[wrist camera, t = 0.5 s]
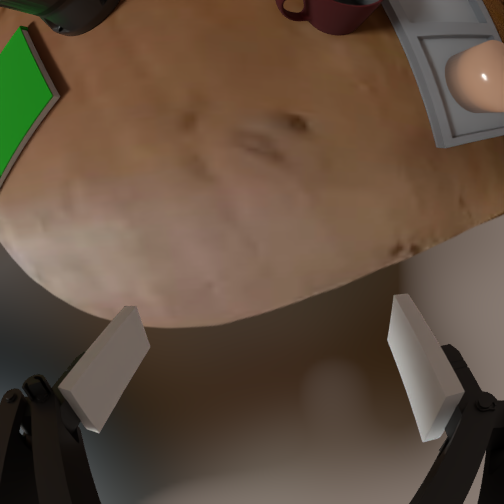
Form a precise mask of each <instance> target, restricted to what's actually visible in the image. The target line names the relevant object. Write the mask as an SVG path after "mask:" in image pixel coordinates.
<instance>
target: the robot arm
mask: <svg viewBox="0 0 504 504" xmlns="http://www.w3.org/2000/svg"><path fill="white" fill-rule="evenodd" d="M119 1H120V0H0V7H4V8H9V9H13V10H17V11H21V12H25V13H29V14H33V15H36V16H39V17H40V18H41V19H42V20H43V21H44V22H45V23H46V24H47V25H48V26H49V27H50V28H51V29H52V30H53V31H55V32H56V33H59V34H62V35H65V36H77V35H80V34H83V33H85V32H87V31H89V30H91V29H92V28H94V27H95V26H97V25H98V24H99V23H100V22H102V21H103V20H104V19H105V18H106V17H107V16H108V15H109V14H110V13H111V12H112V10H113V9H114V8H115V7H116V5H117V4H118V2H119ZM387 341H388V343H389V346H390V348H391V351H392V353H393V356H394V359H395V361H396V364H397V366H398V369H399V372H400V375H401V377H402V380H403V383H404V386H405V388H406V391H407V394H408V397H409V400H410V403H411V406H412V409H413V413H414V415H415V419H416V422H417V425H418V428H419V432H420V435H421V439H422V442H426V441H430V440H433V439H437V438H440V437H441V435H442V433H443V432H444V430H445V431H446V434H447V436H448V437H447V439H446V440H445V442H444V444H443V445H442V447H441V448H440V449H439V451H440V452H439V454H438V456H437V458H436V460H435V462H434V464H433V465H432V467H431V469H430V471H429V473H428V474H427V476H426V478H425V480H424V481H423V483H422V484H421V486H420V488H419V489H418V491H417V493H416V494H415V496H414V497H413V499H412V500H411V502H410V503H409V504H463V502H464V500H465V498H466V496H467V494H468V492H469V490H470V488H471V486H472V483H473V481H474V479H475V476H476V474H477V472H478V469H479V467H480V464H481V461H482V459H483V456H484V453H485V451H486V457H485V464H484V471H483V478H482V484H481V489H480V494H479V499H478V504H504V401H498V400H497V399H496V398H495V397H494V396H493V395H492V394H490V393H488V392H482V390H481V389H480V387H479V385H478V383H477V381H476V380H475V378H474V376H473V374H472V373H471V371H470V369H469V368H468V367H467V364H466V362H465V361H464V360H463V357H462V356H461V354H460V352H459V351H458V350H457V349H456V348H454V347H453V346H452V345H450V344H448V345H443V346H440V345H439V343H438V341H437V340H436V338H435V336H434V334H433V333H432V331H431V330H430V328H429V326H428V325H427V323H426V321H425V320H424V318H423V316H422V315H421V313H420V312H419V310H418V309H417V307H416V305H415V304H414V302H413V301H412V299H411V297H410V296H409V294H399V295H394V299H393V306H392V314H391V321H390V327H389V333H388V340H387ZM149 348H150V344H149V341H148V338H147V336H146V333H145V330H144V327H143V324H142V321H141V318H140V315H139V312H138V309H137V306H124V308H123V309H122V310H121V311H120V312H119V313H118V315H117V316H116V317H115V318H114V319H113V320H112V321H111V323H110V324H109V325H108V326H107V327H106V328H105V330H104V331H103V332H102V333H101V334H100V336H99V337H98V338H97V339H96V340H95V342H94V343H93V344H92V345H91V346H90V348H89V349H88V350H87V352H83V353H82V354H81V355H79V356H78V357H76V359H75V360H74V361H73V362H72V363H71V366H69V367H68V368H67V371H65V372H64V373H63V375H62V376H61V377H60V378H59V379H58V381H57V382H56V383H55V384H54V386H53V387H52V388H51V386H50V385H49V383H48V382H47V380H46V378H45V377H44V376H43V375H40V374H38V375H33V376H31V377H29V378H28V379H27V380H26V381H25V382H24V383H23V386H22V388H23V390H24V391H25V393H26V394H27V396H28V397H25V396H24V395H23V394H22V392H21V391H20V390H19V389H11V390H9V391H7V392H6V394H5V395H4V396H3V398H2V400H1V403H0V504H101V502H100V499H99V496H98V493H97V490H96V487H95V484H94V480H93V477H92V474H91V471H90V467H89V463H88V459H87V455H86V451H85V447H84V443H83V439H82V434H81V430H80V428H79V427H78V425H79V423H80V421H81V422H82V423H83V425H84V426H85V427H86V429H88V430H91V431H94V432H97V433H99V432H100V431H101V429H102V427H103V426H104V424H105V422H106V420H107V419H108V417H109V415H110V413H111V412H112V410H113V408H114V407H115V405H116V403H117V401H118V400H119V398H120V396H121V394H122V393H123V391H124V389H125V388H126V386H127V384H128V383H129V381H130V379H131V378H132V376H133V374H134V373H135V371H136V369H137V368H138V366H139V364H140V362H141V361H142V359H143V358H144V356H145V355H146V353H147V351H148V349H149ZM20 427H21V428H22V430H23V431H24V433H23V435H21V434H20V432H19V430H20Z"/></svg>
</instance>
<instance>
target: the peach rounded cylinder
mask: <svg viewBox="0 0 504 504" xmlns="http://www.w3.org/2000/svg"><path fill="white" fill-rule="evenodd" d="M445 79H446V83H447V86H448V89H449V91H450V93H451V95H452V97H453V98H454V99H455V101H456V102H457V103H458V104H459V105H460V106H461V107H462V108H464V109H465V110H467V111H469V112H472V113H494V112H504V43H502V42H500V41H497V40H489V41H486V42H484V43H481V44H479V45H476V46H474V47H471V48H469V49H466V50H464V51H462V52H459V53H457V54H455V55H453V56H451V57H450V58H449V59H448V61H447V63H446V66H445Z"/></svg>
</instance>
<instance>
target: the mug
mask: <svg viewBox="0 0 504 504" xmlns="http://www.w3.org/2000/svg"><path fill="white" fill-rule="evenodd" d="M284 1H285V0H276V4H277V6H278V8H279V10H280V11H281V13H282V14H283V15H284V16H285V17H286V18H288V19H290V20H293V21H309V22H310V23H311V24H312V25H313V26H314V27H315V28H317V29H318V30H320V31H322V32H324V33H327V34H331V35H345V34H349V33H351V32H353V31H354V30H355V29H356V28H357V27H359V26H360V25H361V24H362V23H363V22H364V21H365V20H366V19H367V18H368V17H369V16H370V14H371V13H372V12H373V11H374V10H375V9H376V8H377V7H378V6H379V5H380V4H381V3H382V1H383V0H303V2H304V8H303V10H302V11H301V12H299V13H294V12H290V11H287V10H285V9H284V7H283V3H284Z"/></svg>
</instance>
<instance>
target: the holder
mask: <svg viewBox="0 0 504 504" xmlns="http://www.w3.org/2000/svg"><path fill="white" fill-rule="evenodd" d="M381 4H382V6H383V8H384V10H385V12H386V14H387V15H388V17H389V19H390V21H391V23H392V25H393V27H394V29H395V32H396V34H397V36H398V38H399V40H400V42H401V44H402V47H403V49H404V51H405V54H406V56H407V58H408V61H409V63H410V66H411V68H412V71H413V73H414V76H415V79H416V81H417V84H418V87H419V90H420V93H421V96H422V99H423V102H424V105H425V108H426V111H427V114H428V118H429V121H430V125H431V128H432V132H433V135H434V139H435V143H436V147H439V148H448V147H453V146H457V145H461V144H466V143H470V142H474V141H479V140H483V139H488V138H493V137H497V136H502V135H504V112H494V113H472V112H469V111H467V110H465V109H464V108H462V107H461V106H460V105H459V104H458V103H457V102H456V101H455V99H454V98H453V97H452V95H451V93H450V91H449V89H448V86H447V83H446V79H445V66H446V63H447V61H448V59H449V58H450V57H451V56H453V55H455V54H457V53H459V52H462V51H464V50H466V49H469V48H471V47H474V46H476V45H479V44H481V43H484V42H486V41H489V40H497V41H500V42H502V41H501V39H500V37H499V34H498V32H497V30H496V28H495V25H494V23H493V21H492V19H491V17H490V15H489V13H488V11H487V9H486V7H485V5H484V3H483V1H482V0H383V1H382V3H381Z"/></svg>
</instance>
